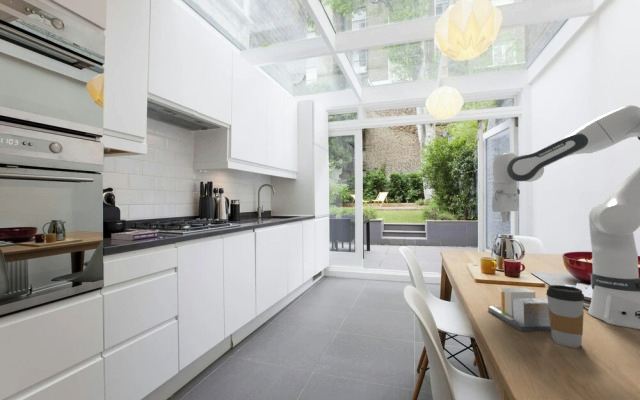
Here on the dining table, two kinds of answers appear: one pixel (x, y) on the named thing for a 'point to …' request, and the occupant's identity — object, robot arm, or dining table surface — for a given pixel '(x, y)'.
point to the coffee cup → (566, 314)
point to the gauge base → (526, 314)
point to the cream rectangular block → (512, 293)
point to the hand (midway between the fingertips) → (506, 222)
